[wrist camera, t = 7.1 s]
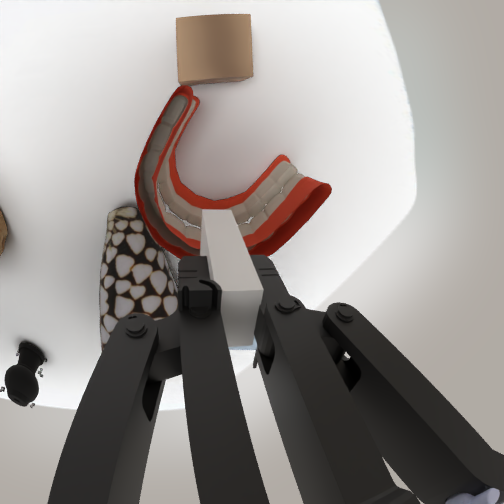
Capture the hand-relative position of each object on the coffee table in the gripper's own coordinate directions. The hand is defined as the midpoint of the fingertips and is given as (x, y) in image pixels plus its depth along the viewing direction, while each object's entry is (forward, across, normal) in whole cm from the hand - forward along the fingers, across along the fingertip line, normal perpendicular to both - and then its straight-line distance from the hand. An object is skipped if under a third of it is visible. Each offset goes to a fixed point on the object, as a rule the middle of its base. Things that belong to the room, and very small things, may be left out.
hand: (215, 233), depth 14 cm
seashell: (+12, -7, -12) cm, 18 cm away
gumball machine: (+12, -28, -26) cm, 40 cm away
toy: (+11, +1, 0) cm, 11 cm away
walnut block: (+11, 0, +11) cm, 16 cm away
